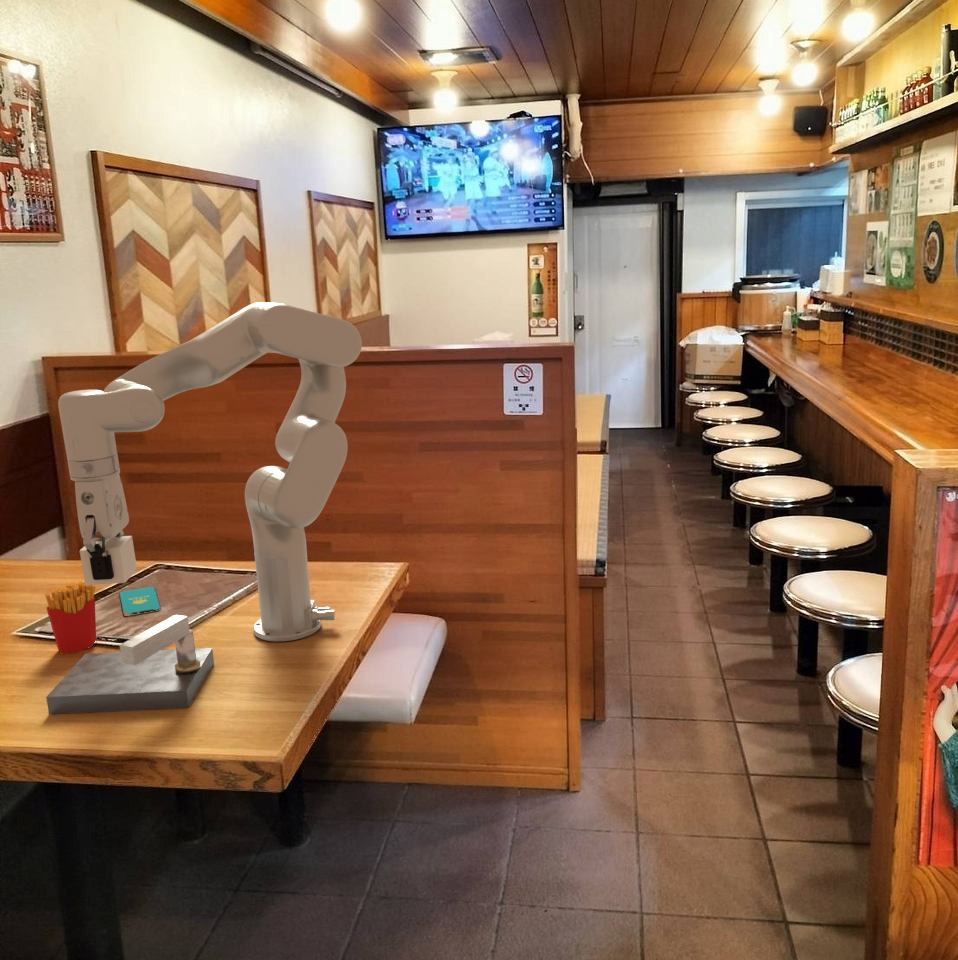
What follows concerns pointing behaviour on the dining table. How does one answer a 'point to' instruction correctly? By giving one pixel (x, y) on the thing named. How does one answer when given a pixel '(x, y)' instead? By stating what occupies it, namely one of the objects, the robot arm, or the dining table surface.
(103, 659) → the base plate
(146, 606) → the smartphone
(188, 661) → the white bent handle
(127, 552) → the cover cap
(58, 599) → the french fries
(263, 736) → the dining table surface
